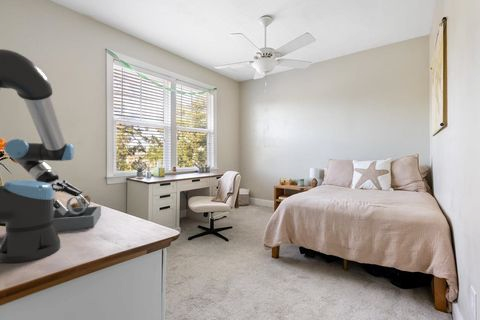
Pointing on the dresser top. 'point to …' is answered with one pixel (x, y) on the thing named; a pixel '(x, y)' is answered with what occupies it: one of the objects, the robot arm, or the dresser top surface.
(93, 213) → the tray
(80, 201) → the watch
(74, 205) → the lion figurine
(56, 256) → the dresser top surface
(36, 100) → the robot arm
